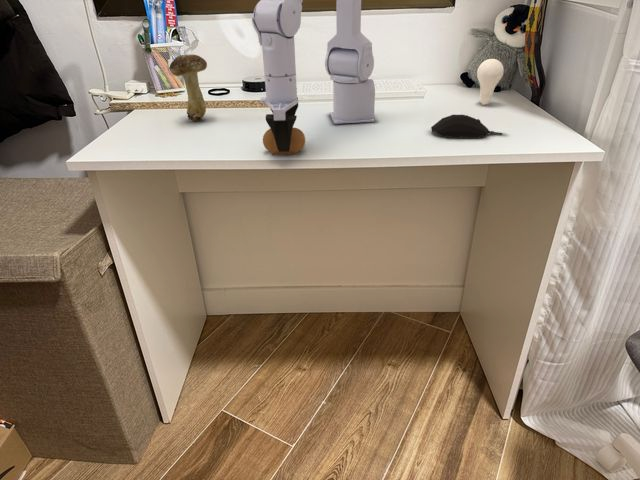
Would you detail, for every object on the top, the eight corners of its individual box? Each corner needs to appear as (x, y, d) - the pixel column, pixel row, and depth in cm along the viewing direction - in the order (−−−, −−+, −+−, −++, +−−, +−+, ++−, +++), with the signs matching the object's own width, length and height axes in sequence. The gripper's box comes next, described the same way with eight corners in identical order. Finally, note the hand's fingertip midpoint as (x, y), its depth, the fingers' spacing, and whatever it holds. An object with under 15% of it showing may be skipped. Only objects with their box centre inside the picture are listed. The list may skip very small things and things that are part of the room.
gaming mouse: (505, 139, 91) (509, 120, 88) (432, 138, 92) (434, 119, 90) (498, 129, 96) (502, 111, 94) (429, 128, 97) (431, 110, 95)
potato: (306, 147, 89) (305, 123, 87) (305, 156, 85) (304, 131, 83) (265, 147, 90) (262, 124, 87) (262, 156, 85) (260, 132, 83)
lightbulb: (500, 108, 109) (509, 61, 103) (475, 108, 109) (483, 61, 103) (492, 101, 114) (501, 56, 108) (468, 101, 114) (476, 56, 108)
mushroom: (206, 127, 101) (195, 58, 93) (171, 125, 103) (157, 57, 94) (222, 115, 109) (212, 50, 101) (189, 114, 110) (178, 49, 102)
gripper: (262, 65, 86) (268, 133, 93) (253, 83, 73) (260, 159, 81) (298, 65, 85) (301, 132, 93) (295, 82, 73) (298, 159, 81)
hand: (285, 145), depth 87 cm, fingers open, 5 cm apart
